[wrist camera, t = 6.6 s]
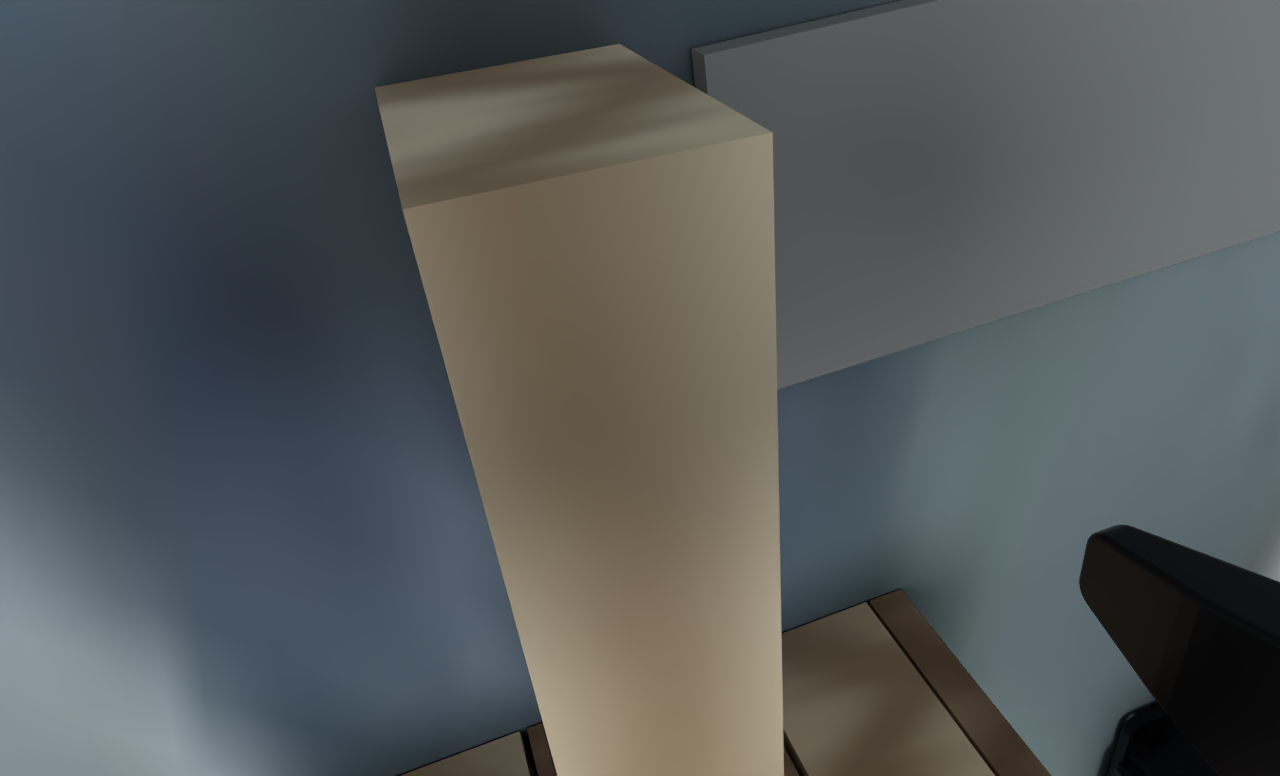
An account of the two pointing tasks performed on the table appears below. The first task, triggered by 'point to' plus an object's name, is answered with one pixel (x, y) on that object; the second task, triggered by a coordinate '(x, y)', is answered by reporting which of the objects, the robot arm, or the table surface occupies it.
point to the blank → (613, 391)
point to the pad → (998, 157)
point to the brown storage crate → (847, 707)
